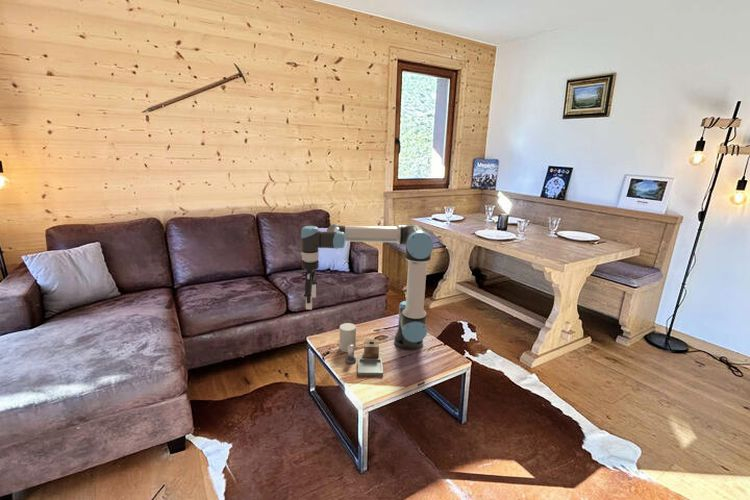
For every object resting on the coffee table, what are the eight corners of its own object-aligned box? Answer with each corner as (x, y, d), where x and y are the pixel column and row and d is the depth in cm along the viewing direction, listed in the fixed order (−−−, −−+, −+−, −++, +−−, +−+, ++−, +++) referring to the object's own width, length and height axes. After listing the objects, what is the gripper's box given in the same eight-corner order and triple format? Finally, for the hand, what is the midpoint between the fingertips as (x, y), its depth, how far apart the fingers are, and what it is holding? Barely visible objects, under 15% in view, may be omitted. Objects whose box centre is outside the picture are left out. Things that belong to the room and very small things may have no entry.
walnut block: (378, 351, 190) (378, 339, 188) (378, 359, 184) (379, 346, 182) (364, 351, 190) (364, 339, 188) (364, 359, 183) (364, 346, 181)
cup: (353, 353, 189) (353, 331, 185) (337, 351, 190) (337, 329, 187) (357, 344, 196) (357, 324, 193) (342, 342, 198) (342, 322, 194)
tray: (381, 362, 182) (381, 358, 181) (382, 376, 171) (383, 372, 170) (358, 361, 181) (358, 358, 181) (357, 375, 170) (357, 372, 170)
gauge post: (356, 358, 184) (356, 342, 182) (355, 364, 179) (356, 348, 177) (345, 358, 184) (345, 342, 182) (345, 363, 179) (345, 348, 177)
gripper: (306, 252, 184) (307, 292, 190) (297, 268, 160) (298, 314, 166) (321, 252, 184) (321, 292, 190) (315, 269, 160) (315, 314, 166)
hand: (311, 302), depth 178 cm, fingers open, 13 cm apart
